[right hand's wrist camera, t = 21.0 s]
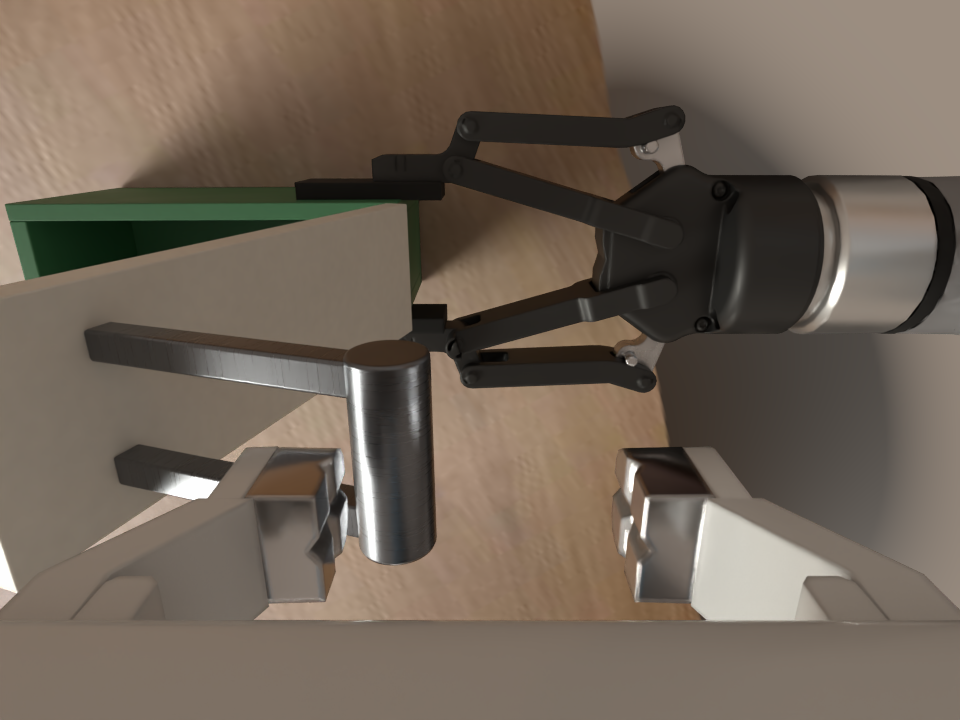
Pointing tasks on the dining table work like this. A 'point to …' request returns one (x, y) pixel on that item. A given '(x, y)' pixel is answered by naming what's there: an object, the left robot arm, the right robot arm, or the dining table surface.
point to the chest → (165, 223)
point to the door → (211, 382)
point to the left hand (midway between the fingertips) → (311, 256)
